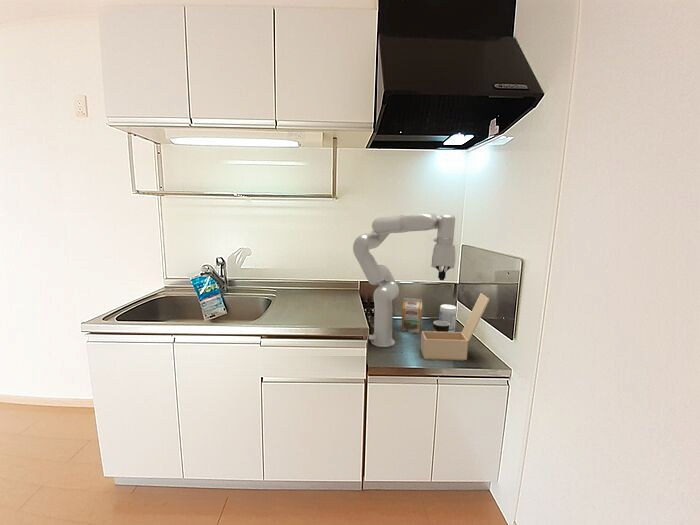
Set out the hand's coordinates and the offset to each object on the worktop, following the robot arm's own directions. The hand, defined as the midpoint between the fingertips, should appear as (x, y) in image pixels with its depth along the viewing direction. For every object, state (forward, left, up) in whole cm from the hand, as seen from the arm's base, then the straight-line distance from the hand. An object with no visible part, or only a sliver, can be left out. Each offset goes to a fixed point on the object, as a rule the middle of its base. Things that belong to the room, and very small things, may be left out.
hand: (441, 279), depth 162 cm
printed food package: (-8, +34, -38) cm, 52 cm away
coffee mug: (+6, +20, -38) cm, 43 cm away
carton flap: (+17, 0, -18) cm, 24 cm away
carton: (+3, 0, -38) cm, 38 cm away
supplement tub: (+13, +35, -38) cm, 53 cm away
